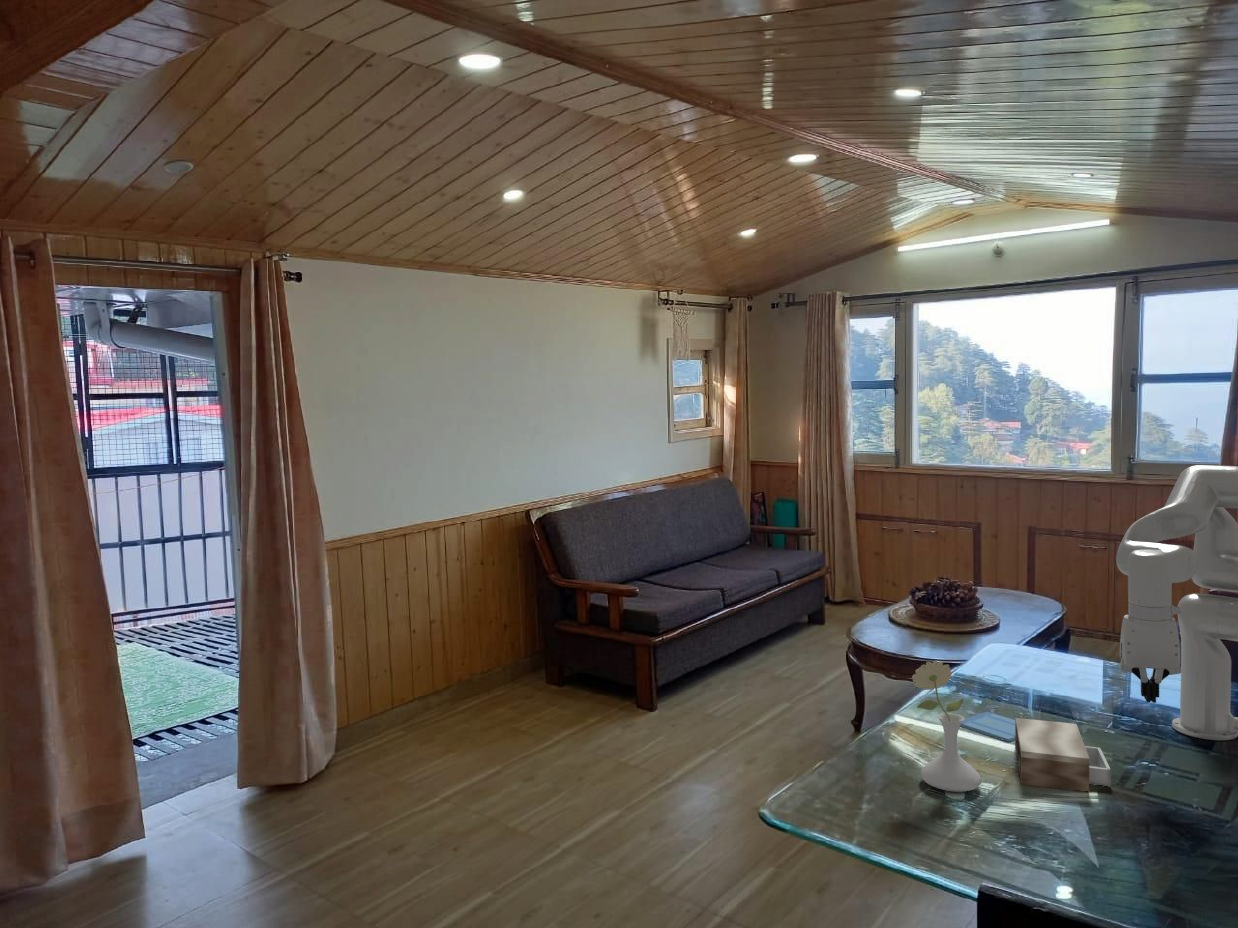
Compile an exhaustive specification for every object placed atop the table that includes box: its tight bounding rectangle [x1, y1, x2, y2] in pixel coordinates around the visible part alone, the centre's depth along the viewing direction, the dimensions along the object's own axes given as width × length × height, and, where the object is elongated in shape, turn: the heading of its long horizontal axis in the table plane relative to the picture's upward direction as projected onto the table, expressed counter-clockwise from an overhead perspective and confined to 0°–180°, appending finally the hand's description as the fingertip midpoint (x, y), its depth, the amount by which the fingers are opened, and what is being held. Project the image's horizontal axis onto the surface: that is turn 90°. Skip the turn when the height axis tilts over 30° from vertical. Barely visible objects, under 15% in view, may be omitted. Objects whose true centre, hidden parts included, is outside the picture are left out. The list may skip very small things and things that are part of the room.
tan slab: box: [1014, 717, 1090, 793], centre depth 182 cm, size 12×20×7 cm, turn 159°
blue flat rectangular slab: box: [960, 711, 1015, 742], centre depth 206 cm, size 14×12×1 cm
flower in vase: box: [911, 660, 982, 793], centre depth 175 cm, size 13×11×25 cm
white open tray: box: [1085, 745, 1112, 788], centre depth 181 cm, size 14×12×4 cm
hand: (1150, 699), depth 179 cm, fingers closed
